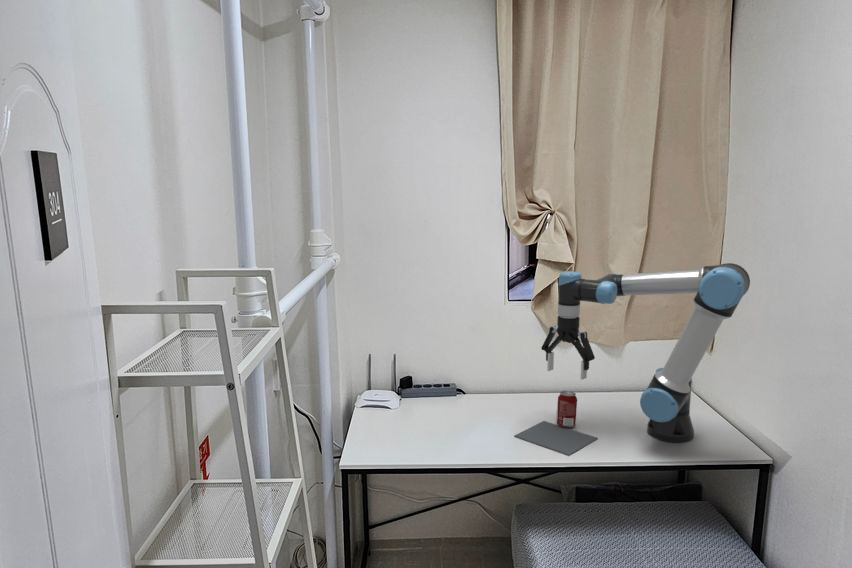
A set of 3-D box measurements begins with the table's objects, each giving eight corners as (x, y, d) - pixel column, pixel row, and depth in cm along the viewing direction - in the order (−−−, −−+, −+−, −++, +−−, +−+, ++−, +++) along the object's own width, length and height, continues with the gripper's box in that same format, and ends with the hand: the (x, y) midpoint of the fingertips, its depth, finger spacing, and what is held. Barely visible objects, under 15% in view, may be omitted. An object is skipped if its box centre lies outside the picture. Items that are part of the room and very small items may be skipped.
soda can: (575, 429, 222) (577, 396, 220) (556, 427, 223) (558, 394, 222) (574, 423, 228) (577, 391, 227) (556, 421, 230) (558, 389, 228)
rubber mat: (597, 438, 215) (597, 437, 215) (569, 456, 202) (569, 454, 202) (543, 421, 230) (543, 420, 230) (514, 436, 217) (514, 435, 217)
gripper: (606, 319, 213) (603, 379, 216) (544, 308, 230) (543, 364, 234) (595, 323, 207) (592, 384, 211) (532, 312, 225) (531, 369, 228)
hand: (566, 374), depth 222 cm, fingers open, 13 cm apart
